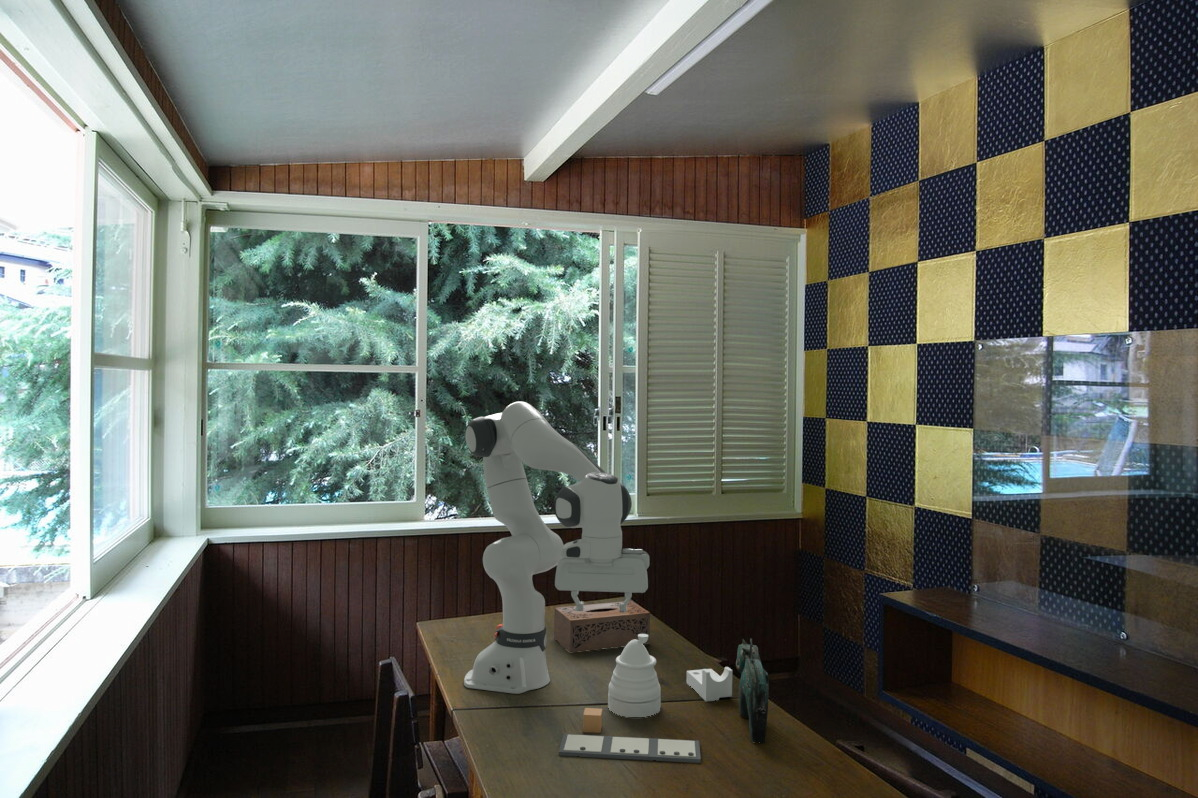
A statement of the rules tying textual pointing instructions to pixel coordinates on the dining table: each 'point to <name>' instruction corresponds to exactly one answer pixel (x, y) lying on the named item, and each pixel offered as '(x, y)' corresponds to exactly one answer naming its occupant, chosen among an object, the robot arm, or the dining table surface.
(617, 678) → the honey pot
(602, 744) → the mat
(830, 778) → the dining table surface
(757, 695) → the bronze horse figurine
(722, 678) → the bracket
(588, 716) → the block
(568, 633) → the tissue box cover
